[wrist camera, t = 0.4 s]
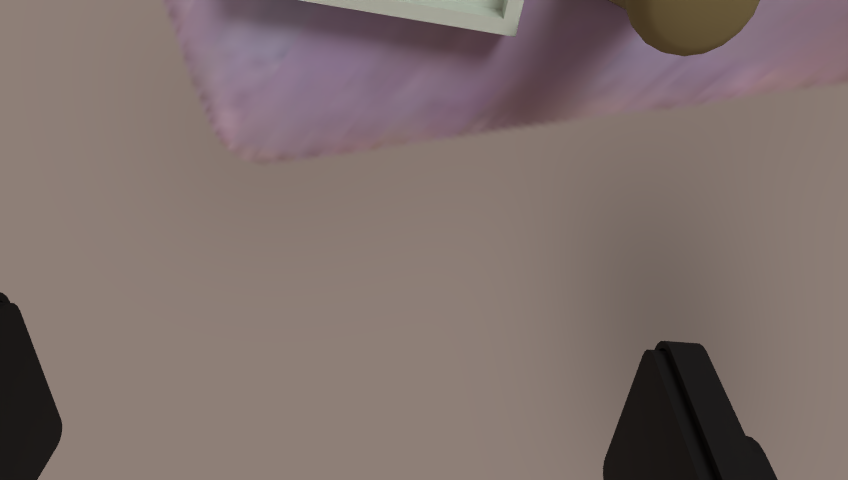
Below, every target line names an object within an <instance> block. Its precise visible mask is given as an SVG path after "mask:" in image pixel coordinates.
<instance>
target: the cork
mask: <svg viewBox="0 0 848 480" xmlns="http://www.w3.org/2000/svg"><path fill="white" fill-rule="evenodd" d="M609 1H610V2H612V3H614V4H616V5H618V6H620V7H622V8H624V9H626V10H627V14H628V17H629V20H630V23H631V25H632V26H633V28H634V29H635V30H636V32H637V33H638V34H639V35H640V37H641V38H642V39H643V40H644V42H645V43H647V44H648V45H650V46H652V47H654V48H656V49H657V50H659V51H661V52H664V53H669V54H675V55H681V56H689V55H696V54H703V53H706V52H708V51H710V50H713V49H715V48H717V47H720V46H722V45H724V44H725V43H726V42H727V41H729V40H730V39H731V38H733V37H734V36H735V35H736V34H738V33H739V32H740V31H741V30H742V29H743V27H744V26H745V25H746V24H747V22H748V21H749V20H750V18H751V17H752V16H753V15H754V13H755V10H756V8H757V6H758V3H759V1H760V0H609Z"/></svg>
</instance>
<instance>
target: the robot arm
mask: <svg viewBox="0 0 848 480" xmlns="http://www.w3.org/2000/svg"><path fill="white" fill-rule="evenodd" d="M61 433H62V422H61V418H60V416H59V413H58V410H57V408H56V405H55V402H54V400H53V397H52V394H51V392H50V389H49V387H48V384H47V381H46V378H45V376H44V373H43V371H42V368H41V365H40V363H39V360H38V357H37V355H36V352H35V349H34V347H33V344H32V342H31V339H30V336H29V333H28V331H27V328H26V325H25V323H24V320H23V317H22V315H21V312H20V310H19V308H18V306H17V305H15V304H14V303H10V301H9V300H8V298H7V296H6V295H4V294H3V293H0V480H37V479H38V477H39V476H40V474H41V472H42V471H43V469H44V467H45V465H46V464H47V462H48V461H49V459H50V457H51V455H52V454H53V452H54V451H55V449H56V447H57V445H58V443H59V441H60V437H61ZM603 478H604V480H777V477H776V475H775V473H774V471H773V469H772V467H771V465H770V463H769V461H768V459H767V457H766V455H765V453H764V451H763V450H762V448H761V446H760V445H759V443H758V442H756V441H755V440H754V439H753V438H752V437H748V436H745V434H744V431H743V429H742V427H741V425H740V423H739V421H738V418H737V416H736V414H735V412H734V410H733V408H732V406H731V403H730V401H729V399H728V397H727V395H726V393H725V390H724V388H723V386H722V384H721V382H720V380H719V377H718V375H717V373H716V371H715V369H714V367H713V365H712V362H711V360H710V358H709V356H708V354H707V351H706V350H705V348H704V347H703V346H702V345H700V344H697V343H684V342H670V341H660V342H659V343H658V344H657V346H656V348H655V350H646V351H645V352H644V354H643V356H642V359H641V362H640V364H639V367H638V370H637V373H636V375H635V378H634V381H633V383H632V386H631V389H630V392H629V394H628V397H627V400H626V402H625V405H624V408H623V411H622V414H621V416H620V419H619V422H618V424H617V427H616V430H615V433H614V435H613V438H612V441H611V444H610V446H609V449H608V452H607V454H606V457H605V460H604V466H603Z"/></svg>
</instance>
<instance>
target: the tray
mask: <svg viewBox="0 0 848 480" xmlns="http://www.w3.org/2000/svg"><path fill="white" fill-rule="evenodd" d="M300 1H306V2H312V3H318V4H324V5H330V6H336V7H342V8H348V9H354V10H360V11H365V12H371V13H377V14H383V15H389V16H395V17H401V18H407V19H413V20H419V21H424V22H430V23H436V24H442V25H448V26H454V27H460V28H466V29H472V30H478V31H484V32H489V33H495V34H501V35H507V36H513V37H515V36H516V32H517V28H518V23H519V19H520V15H521V11H522V7H523V2H524V0H300Z"/></svg>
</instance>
